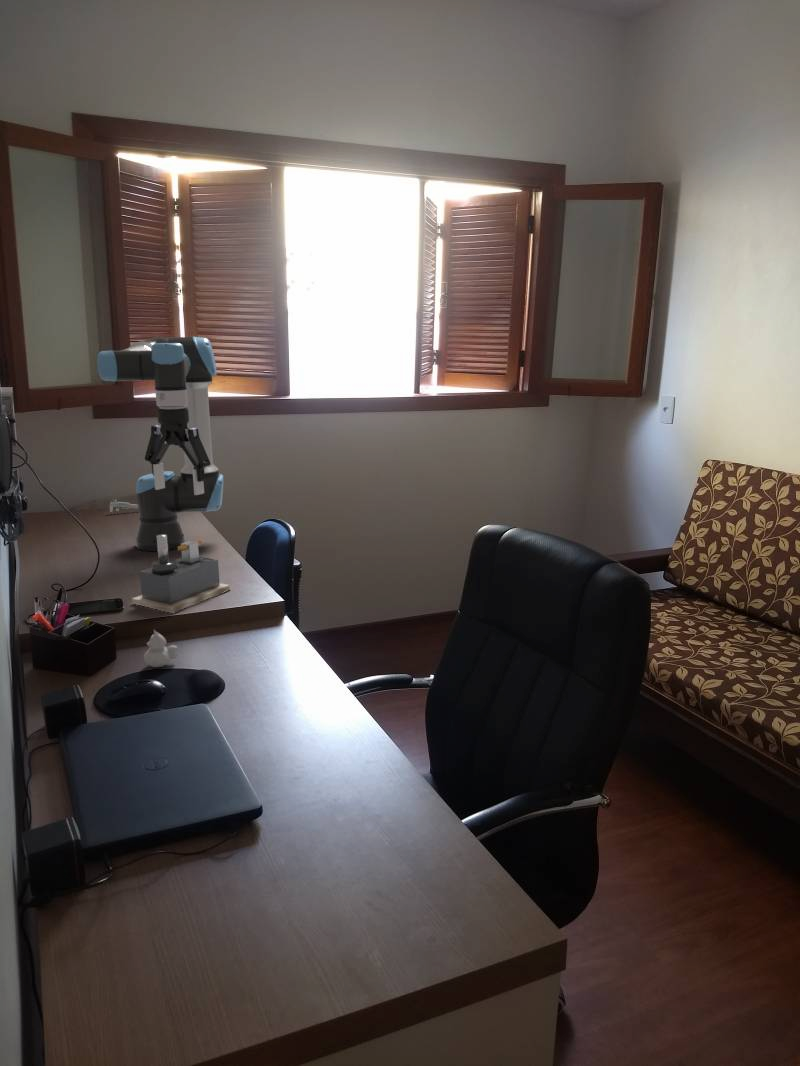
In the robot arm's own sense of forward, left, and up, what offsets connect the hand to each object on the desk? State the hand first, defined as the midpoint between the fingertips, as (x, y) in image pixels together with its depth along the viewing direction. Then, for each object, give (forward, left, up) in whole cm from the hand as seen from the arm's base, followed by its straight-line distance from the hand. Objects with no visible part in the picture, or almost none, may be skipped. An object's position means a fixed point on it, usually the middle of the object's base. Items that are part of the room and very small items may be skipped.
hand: (179, 491), depth 195 cm
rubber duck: (+37, +30, -27) cm, 55 cm away
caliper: (-60, -86, -27) cm, 109 cm away
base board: (+4, +3, -27) cm, 27 cm away
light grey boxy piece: (0, +3, -23) cm, 23 cm away
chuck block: (+4, +3, -25) cm, 26 cm away
